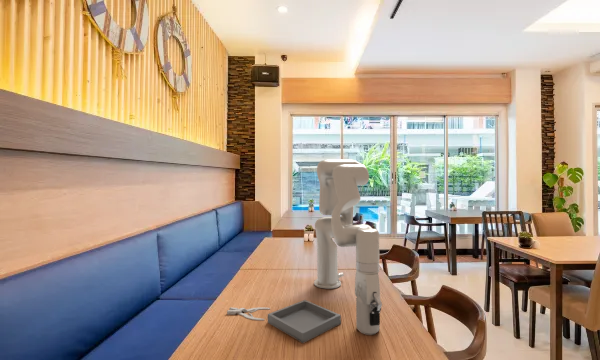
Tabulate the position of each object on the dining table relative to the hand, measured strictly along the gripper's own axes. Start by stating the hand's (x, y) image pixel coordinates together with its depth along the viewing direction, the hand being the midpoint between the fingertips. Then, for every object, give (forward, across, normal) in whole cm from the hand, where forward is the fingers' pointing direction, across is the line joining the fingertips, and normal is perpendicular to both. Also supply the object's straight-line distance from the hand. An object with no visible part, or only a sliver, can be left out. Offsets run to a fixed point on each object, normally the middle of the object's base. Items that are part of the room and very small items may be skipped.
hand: (368, 318), depth 100 cm
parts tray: (+4, -10, -19) cm, 22 cm away
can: (+4, 0, 0) cm, 4 cm away
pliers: (+5, -22, -38) cm, 44 cm away
